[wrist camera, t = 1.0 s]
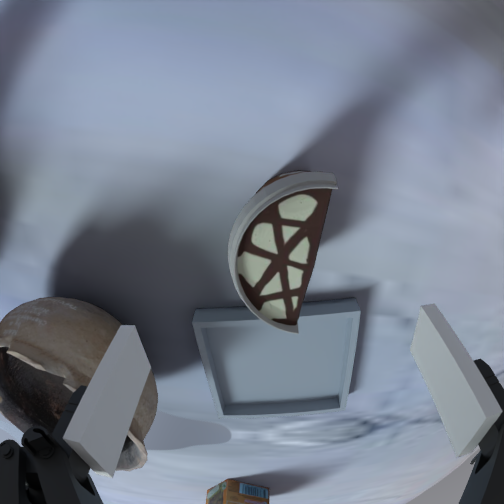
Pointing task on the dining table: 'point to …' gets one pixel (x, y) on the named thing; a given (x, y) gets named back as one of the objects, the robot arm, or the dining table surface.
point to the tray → (278, 360)
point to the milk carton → (237, 493)
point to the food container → (279, 245)
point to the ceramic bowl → (62, 367)
